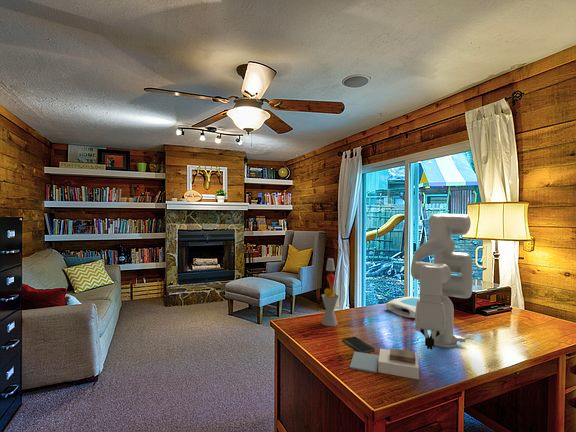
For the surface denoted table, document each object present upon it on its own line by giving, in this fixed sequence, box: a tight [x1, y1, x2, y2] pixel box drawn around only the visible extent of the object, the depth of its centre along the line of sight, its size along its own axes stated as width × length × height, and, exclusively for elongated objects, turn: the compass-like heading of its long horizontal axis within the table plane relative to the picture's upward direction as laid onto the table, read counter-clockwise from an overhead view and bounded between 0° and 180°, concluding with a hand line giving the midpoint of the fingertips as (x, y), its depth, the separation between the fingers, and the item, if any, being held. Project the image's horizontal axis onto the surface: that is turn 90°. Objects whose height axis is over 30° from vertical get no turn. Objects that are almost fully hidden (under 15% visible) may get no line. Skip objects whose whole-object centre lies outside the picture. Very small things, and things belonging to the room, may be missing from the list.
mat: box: [349, 351, 379, 374], centre depth 122 cm, size 10×14×1 cm
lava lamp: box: [321, 257, 339, 327], centre depth 165 cm, size 9×9×35 cm
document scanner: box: [385, 296, 420, 319], centre depth 188 cm, size 21×28×6 cm
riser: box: [377, 348, 420, 380], centre depth 118 cm, size 14×12×4 cm
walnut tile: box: [389, 347, 416, 364], centre depth 117 cm, size 9×6×2 cm, turn 70°
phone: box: [342, 336, 375, 354], centre depth 138 cm, size 8×1×15 cm
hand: (429, 347), depth 113 cm, fingers closed
